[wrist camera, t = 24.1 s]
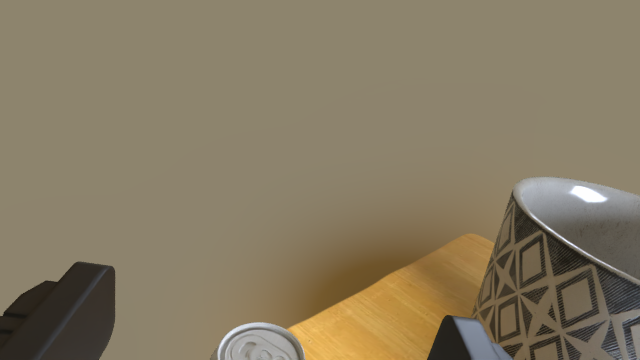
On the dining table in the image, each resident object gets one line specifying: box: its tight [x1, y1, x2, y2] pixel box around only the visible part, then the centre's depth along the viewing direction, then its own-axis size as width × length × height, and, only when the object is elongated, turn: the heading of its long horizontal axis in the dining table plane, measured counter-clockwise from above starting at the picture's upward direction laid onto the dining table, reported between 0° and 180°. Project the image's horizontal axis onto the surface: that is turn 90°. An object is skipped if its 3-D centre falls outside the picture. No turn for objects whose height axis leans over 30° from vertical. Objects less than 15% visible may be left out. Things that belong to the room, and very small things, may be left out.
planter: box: [471, 177, 640, 360], centre depth 42 cm, size 26×26×22 cm
